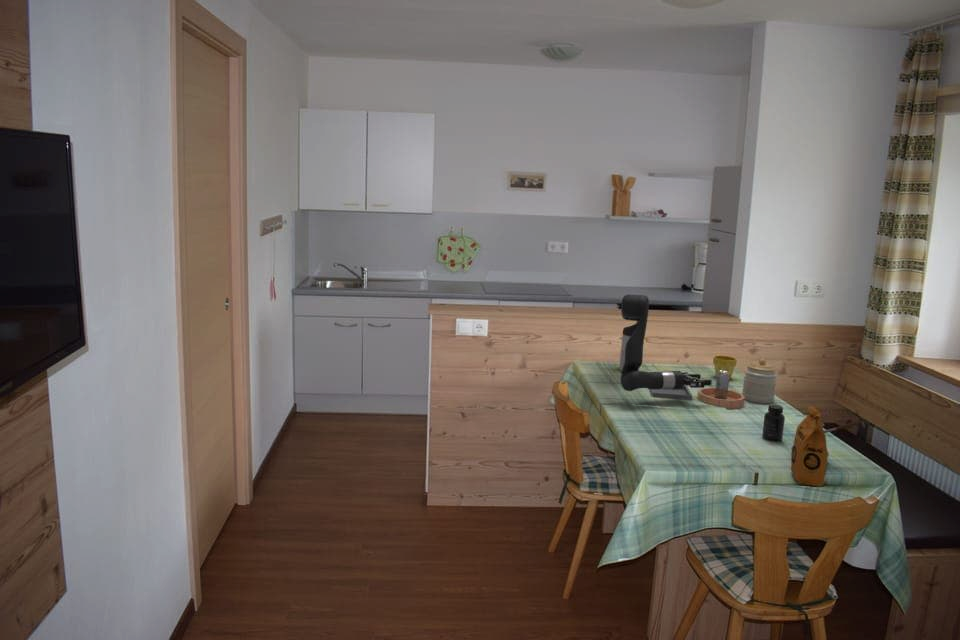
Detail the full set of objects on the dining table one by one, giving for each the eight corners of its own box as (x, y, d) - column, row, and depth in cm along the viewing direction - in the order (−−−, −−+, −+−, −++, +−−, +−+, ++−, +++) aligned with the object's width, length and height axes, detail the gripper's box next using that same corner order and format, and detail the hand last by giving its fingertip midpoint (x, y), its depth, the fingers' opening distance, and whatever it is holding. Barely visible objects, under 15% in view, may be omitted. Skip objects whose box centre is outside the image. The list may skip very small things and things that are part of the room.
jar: (776, 405, 313) (781, 364, 310) (743, 402, 316) (748, 360, 312) (771, 396, 326) (776, 356, 322) (739, 393, 328) (744, 353, 325)
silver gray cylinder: (715, 401, 311) (718, 371, 309) (712, 397, 316) (716, 368, 314) (727, 402, 311) (731, 372, 308) (725, 398, 316) (728, 369, 313)
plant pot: (706, 375, 355) (708, 355, 353) (723, 374, 360) (725, 354, 358) (722, 381, 346) (724, 361, 344) (739, 380, 350) (741, 359, 349)
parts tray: (652, 398, 314) (652, 392, 313) (648, 387, 329) (648, 382, 329) (691, 401, 312) (692, 395, 311) (685, 390, 328) (686, 385, 327)
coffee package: (791, 483, 231) (800, 414, 227) (787, 469, 243) (796, 403, 238) (826, 489, 228) (837, 419, 224) (821, 474, 240) (831, 408, 236)
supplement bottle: (765, 434, 276) (769, 402, 274) (784, 438, 272) (789, 406, 270) (758, 438, 271) (763, 406, 269) (778, 443, 267) (782, 410, 265)
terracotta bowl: (701, 406, 306) (702, 398, 305) (694, 394, 323) (695, 386, 323) (747, 410, 304) (748, 402, 303) (737, 397, 322) (738, 389, 321)
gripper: (679, 376, 298) (716, 375, 302) (662, 366, 312) (697, 366, 316) (677, 394, 299) (714, 393, 304) (660, 384, 313) (695, 383, 317)
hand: (705, 379), depth 310 cm, fingers open, 8 cm apart
